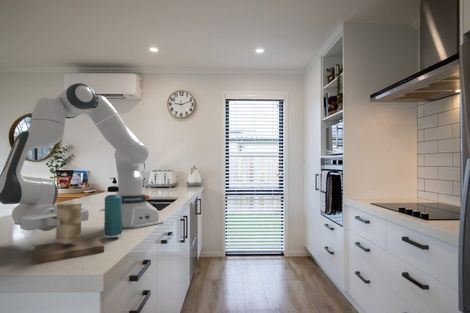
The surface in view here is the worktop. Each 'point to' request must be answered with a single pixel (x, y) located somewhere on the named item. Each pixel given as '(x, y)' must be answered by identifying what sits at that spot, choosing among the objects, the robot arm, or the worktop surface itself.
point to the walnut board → (67, 249)
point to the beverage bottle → (113, 213)
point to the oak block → (69, 222)
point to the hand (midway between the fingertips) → (70, 220)
